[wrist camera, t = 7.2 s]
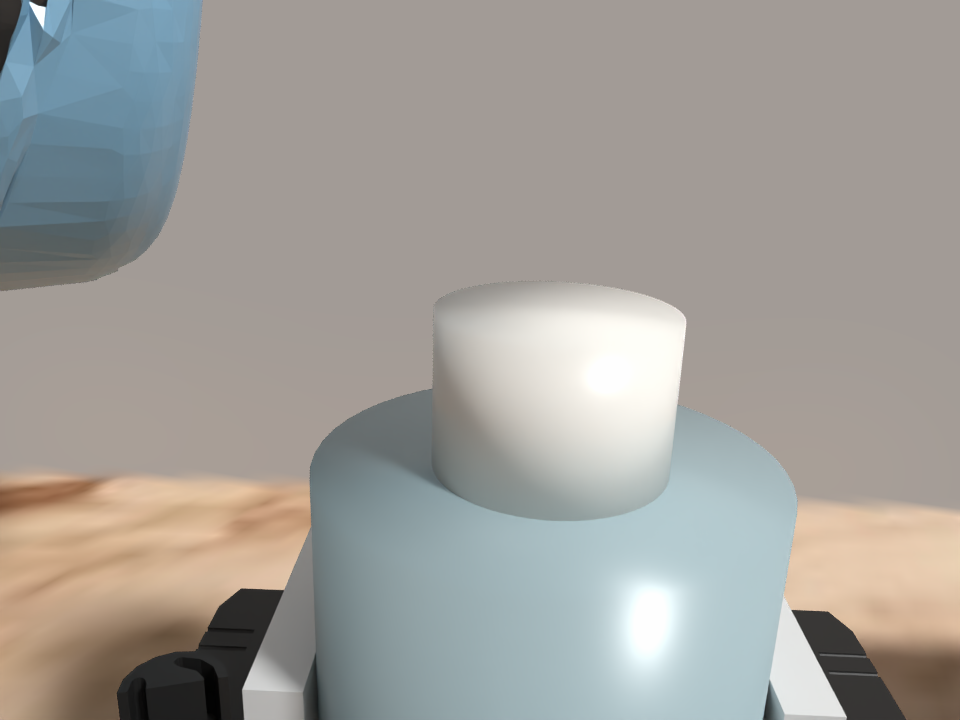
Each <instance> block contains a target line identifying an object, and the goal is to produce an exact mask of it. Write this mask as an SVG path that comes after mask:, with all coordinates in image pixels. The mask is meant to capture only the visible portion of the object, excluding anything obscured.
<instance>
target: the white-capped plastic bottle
mask: <svg viewBox="0 0 960 720" xmlns="http://www.w3.org/2000/svg"><path fill="white" fill-rule="evenodd" d="M433 318H434V319H433V321H434V322H433V389H429V390H423V391H419V392H415V393H412V394H407V395H403V396H400V397H397V398H394V399H391V400H388V401H385V402H382V403H380V404H377V405H375V406H373V407H370V408H368V409H366V410H364V411H362V412H360V413H359V414H356V415H355V416H353V417H351V418H349V419H347V420H346V421H345V422H343V423H342V424H341V425H340V426H338V427H336V428H335V429H334V430H333V431H332V432H331V433H330V434H329V435H328V436H327V437H326V438H325V439H324V440H323V441H322V443H321V444H320V446H319V447H318V449H317V450H316V452H315V454H314V457H313V460H312V463H311V466H310V503H311V530H312V557H313V584H314V612H315V639H316V666H317V693H318V720H763V716H764V710H765V703H766V697H767V691H768V685H769V679H770V673H771V667H772V661H773V655H774V649H775V643H776V637H777V631H778V625H779V619H780V613H781V607H782V601H783V595H784V589H785V583H786V577H787V571H788V565H789V559H790V553H791V547H792V541H793V535H794V529H795V523H796V517H797V497H796V493H795V489H794V486H793V484H792V482H791V480H790V478H789V476H788V474H787V472H786V471H785V470H784V469H783V467H782V466H781V465H780V464H779V462H778V461H777V460H776V459H775V458H774V457H773V456H772V455H771V454H770V453H768V452H767V451H766V450H765V449H764V448H763V447H762V446H760V445H759V444H758V443H756V442H754V441H753V440H752V439H750V438H749V437H747V436H746V435H744V434H743V433H741V432H739V431H737V430H735V429H734V428H732V427H730V426H728V425H727V424H725V423H722V422H720V421H718V420H716V419H714V418H711V417H709V416H707V415H705V414H702V413H699V412H697V411H694V410H691V409H689V408H686V407H684V406H680V405H677V403H678V394H679V385H680V376H681V367H682V358H683V349H684V340H685V331H686V318H685V316H684V315H683V314H682V313H681V312H680V311H679V310H678V309H676V308H675V307H673V306H671V305H669V304H668V303H666V302H663V301H661V300H658V299H656V298H653V297H650V296H647V295H643V294H640V293H636V292H632V291H627V290H623V289H617V288H612V287H606V286H599V285H592V284H583V283H572V282H554V281H518V282H503V283H493V284H484V285H479V286H473V287H469V288H464V289H461V290H457V291H454V292H452V293H449V294H447V295H445V296H443V297H442V298H440V299H439V300H438V301H437V302H436V304H435V305H434V315H433Z"/></svg>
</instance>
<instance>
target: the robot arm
mask: <svg viewBox="0 0 960 720" xmlns="http://www.w3.org/2000/svg"><path fill="white" fill-rule="evenodd" d="M202 2H203V0H0V291H7V290H17V289H26V288H35V287H45V286H54V285H64V284H74V283H83V282H89V281H94V280H97V279H98V278H101V277H103V276H106V275H109V274H111V273H114V272H116V271H118V268H120V267H122V266H124V265H126V264H128V263H130V262H132V261H134V260H136V259H137V258H138V257H139V256H140V255H142V254H143V253H144V252H145V251H146V250H147V249H148V248H149V247H150V245H151V244H152V243H153V242H154V240H155V239H156V238H157V237H158V235H159V233H160V231H161V229H162V227H163V225H164V224H165V222H166V220H167V217H168V215H169V212H170V209H171V206H172V203H173V201H174V198H175V194H176V191H177V187H178V183H179V178H180V174H181V169H182V165H183V160H184V154H185V149H186V143H187V137H188V131H189V124H190V118H191V111H192V102H193V95H194V86H195V78H196V70H197V59H198V48H199V38H200V27H201V14H202ZM877 673H878V672H877V671H876V669H875V668H874V666H873V664H872V663H871V661H870V659H867V658H866V653H865V651H864V649H863V648H862V646H861V645H860V643H859V641H858V640H857V638H856V636H855V635H854V633H853V632H852V631H851V630H850V629H849V628H848V627H846V626H845V625H844V624H843V623H841V622H840V621H839V620H838V619H836V618H835V617H834V616H833V615H832V614H830V613H829V612H825V611H802V610H791V609H790V607H789V605H788V603H787V601H786V599H785V597H784V595H783V601H782V607H781V613H780V619H779V625H778V631H777V637H776V643H775V649H774V655H773V661H772V667H771V673H770V679H769V685H768V691H767V697H766V703H765V710H764V716H763V720H906V719H905V717H904V715H903V714H902V712H901V710H900V709H899V707H898V705H897V704H896V702H895V700H894V699H893V697H892V696H891V694H890V692H889V691H888V689H887V687H886V686H885V684H884V682H883V681H882V679H881V677H878V675H877ZM117 699H118V707H119V714H120V720H318V693H317V666H316V639H315V612H314V584H313V557H312V530H311V528H310V531H309V533H308V535H307V538H306V540H305V542H304V545H303V547H302V549H301V552H300V554H299V557H298V559H297V561H296V564H295V566H294V568H293V571H292V573H291V575H290V578H289V580H288V583H287V585H286V587H285V590H264V589H240V590H239V591H238V592H236V593H235V594H234V595H233V596H231V597H230V598H229V599H228V600H227V601H225V602H224V603H223V604H222V605H220V606H219V608H218V610H217V611H216V613H215V615H214V617H213V619H212V621H211V623H210V625H209V627H208V631H207V632H205V634H204V636H203V638H202V640H201V642H200V643H199V648H198V649H196V651H192V652H174V653H170V654H166V655H162V656H158V657H155V658H153V659H151V660H149V661H147V662H145V663H143V664H141V665H139V666H137V667H136V668H135V669H134V670H133V671H132V672H131V673H129V674H128V675H127V676H126V677H125V678H124V679H123V681H122V683H121V685H120V687H119V690H118V692H117Z"/></svg>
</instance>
